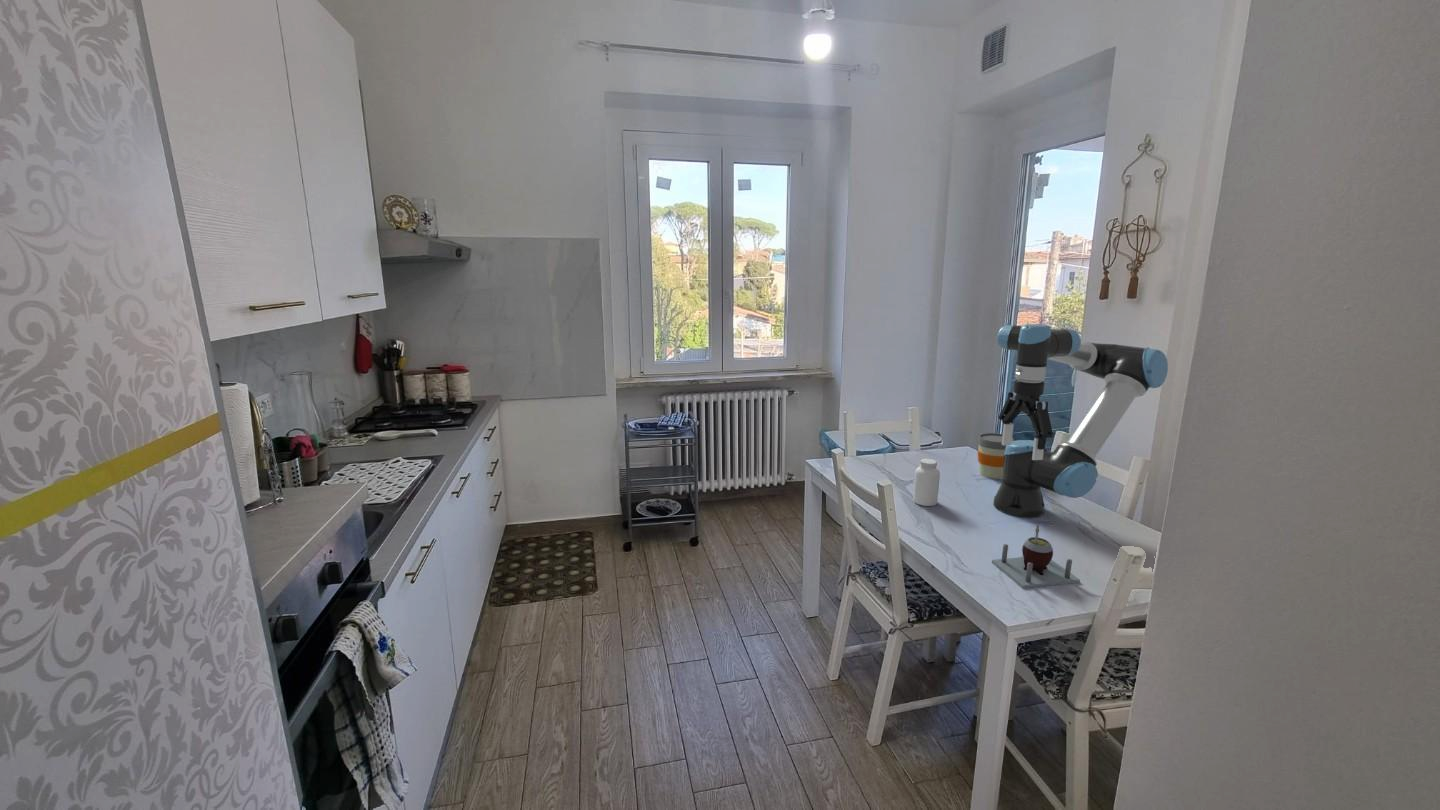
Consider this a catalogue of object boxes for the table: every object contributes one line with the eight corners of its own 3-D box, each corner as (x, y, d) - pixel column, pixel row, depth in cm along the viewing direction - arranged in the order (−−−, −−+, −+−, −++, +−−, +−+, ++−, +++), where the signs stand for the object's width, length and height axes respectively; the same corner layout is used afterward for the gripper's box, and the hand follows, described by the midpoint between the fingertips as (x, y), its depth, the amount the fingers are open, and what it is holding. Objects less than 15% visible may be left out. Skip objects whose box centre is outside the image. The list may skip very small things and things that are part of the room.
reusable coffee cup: (982, 480, 216) (986, 442, 213) (969, 468, 229) (973, 432, 225) (1016, 480, 216) (1020, 442, 212) (1001, 468, 228) (1005, 432, 225)
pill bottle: (942, 504, 196) (946, 463, 192) (923, 508, 193) (926, 466, 189) (926, 496, 203) (929, 455, 199) (908, 499, 200) (910, 459, 196)
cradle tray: (1044, 557, 160) (1047, 538, 159) (1079, 582, 147) (1082, 562, 146) (991, 562, 158) (993, 543, 156) (1022, 588, 145) (1025, 567, 144)
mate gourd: (1040, 561, 156) (1046, 510, 153) (1058, 577, 148) (1065, 523, 145) (1013, 563, 156) (1019, 511, 152) (1030, 578, 148) (1037, 525, 145)
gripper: (990, 372, 173) (983, 440, 178) (1048, 390, 149) (1038, 467, 154) (1013, 371, 174) (1006, 438, 179) (1074, 388, 150) (1064, 465, 155)
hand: (1021, 452), depth 166 cm, fingers open, 13 cm apart
